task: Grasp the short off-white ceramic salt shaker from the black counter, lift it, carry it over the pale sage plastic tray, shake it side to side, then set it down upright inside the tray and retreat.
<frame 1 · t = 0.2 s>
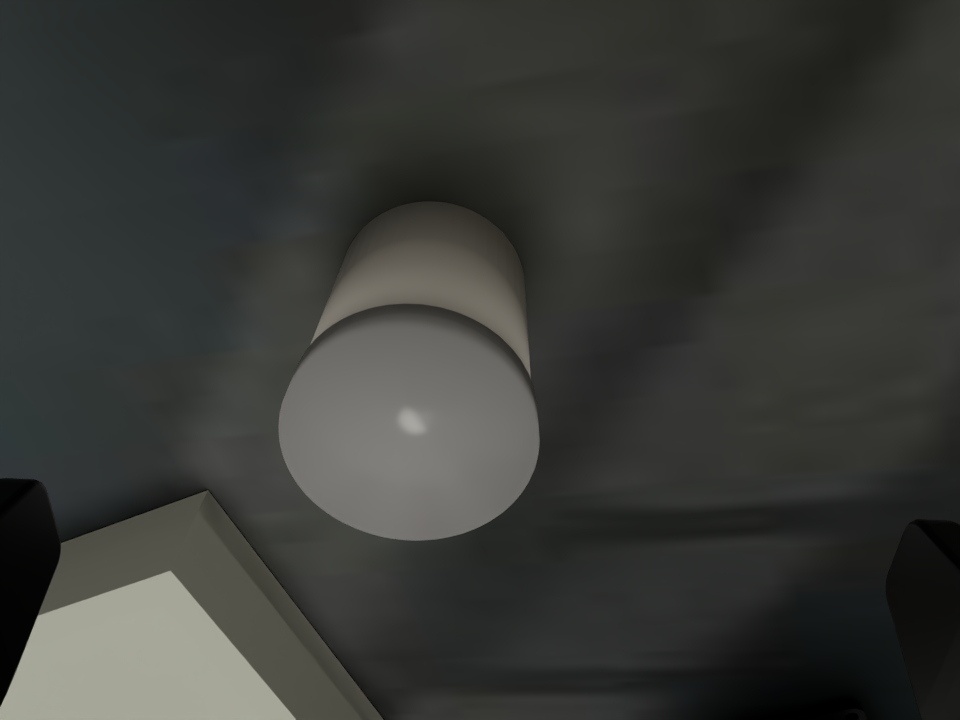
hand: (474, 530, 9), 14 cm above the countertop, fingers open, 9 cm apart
sage tray: (149, 695, 32), on the countertop
shaker: (432, 289, 23), on the countertop
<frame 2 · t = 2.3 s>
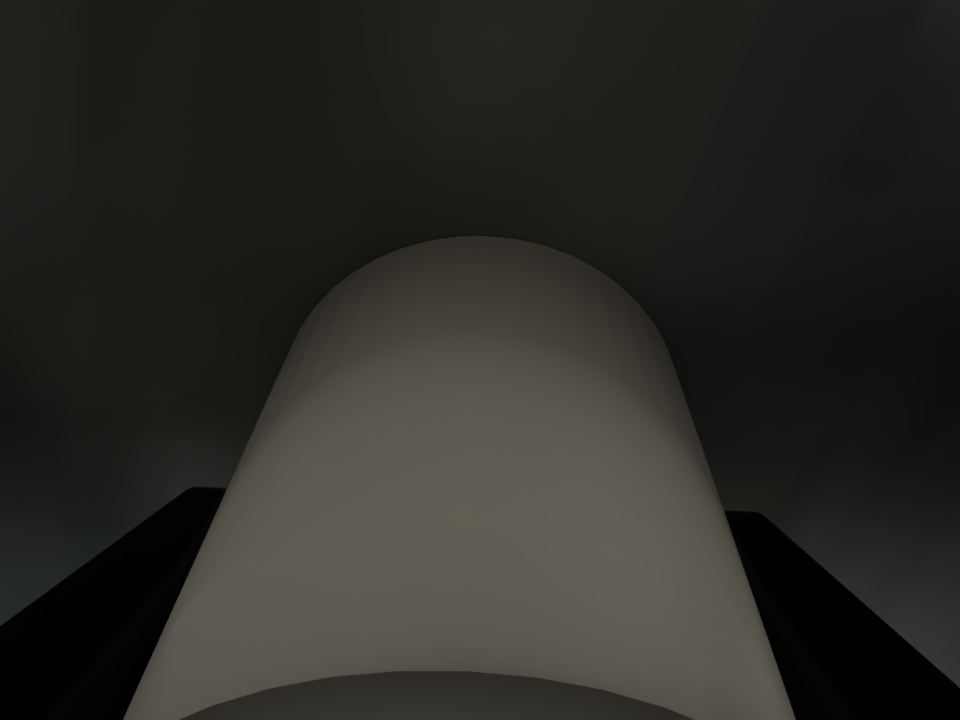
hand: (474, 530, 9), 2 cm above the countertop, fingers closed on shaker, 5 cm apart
shaker: (479, 421, 11), on the countertop, touching gripper
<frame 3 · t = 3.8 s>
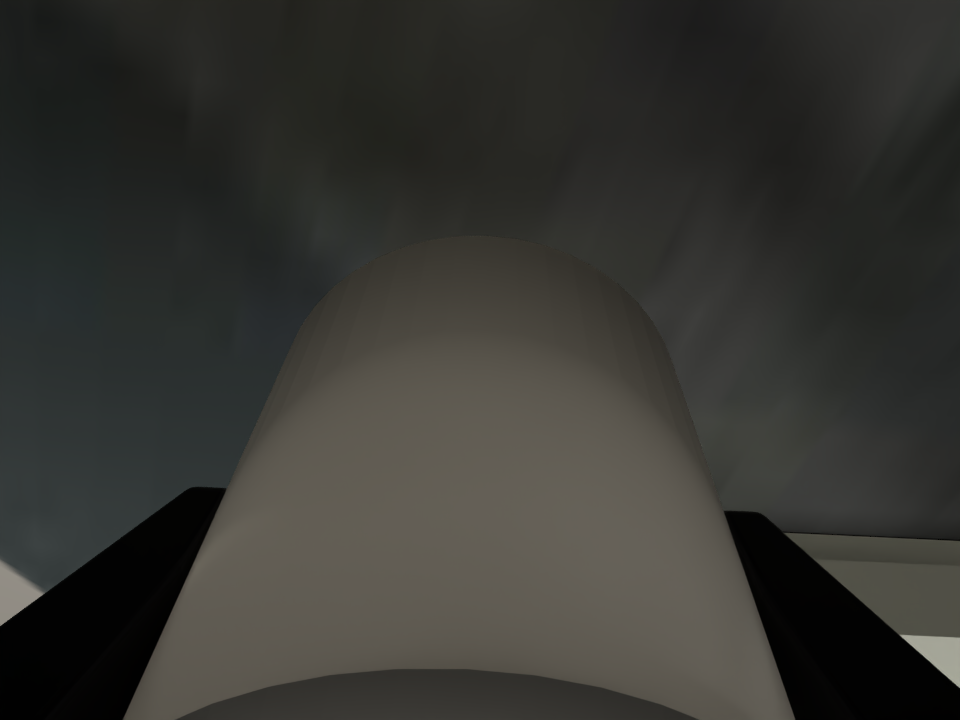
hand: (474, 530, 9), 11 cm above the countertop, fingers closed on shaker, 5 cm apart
sage tray: (812, 714, 27), on the countertop
shaker: (478, 421, 11), point 9 cm above the countertop, touching gripper
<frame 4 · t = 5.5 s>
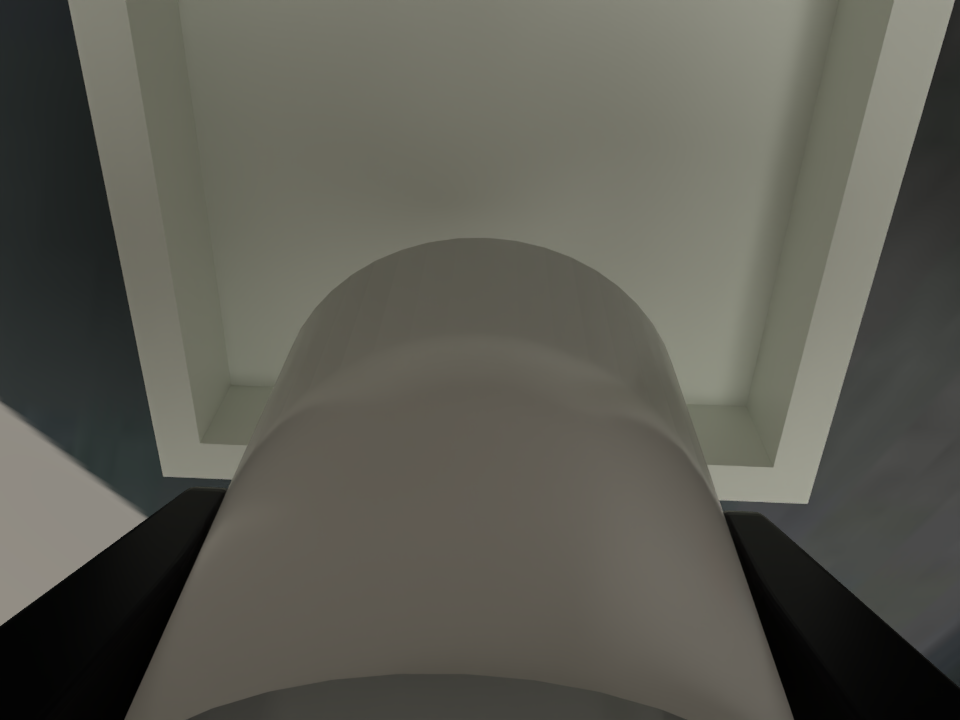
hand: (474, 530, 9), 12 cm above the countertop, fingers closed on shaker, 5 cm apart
sage tray: (499, 126, 19), on the countertop
shaker: (478, 423, 11), point 10 cm above the countertop, touching gripper
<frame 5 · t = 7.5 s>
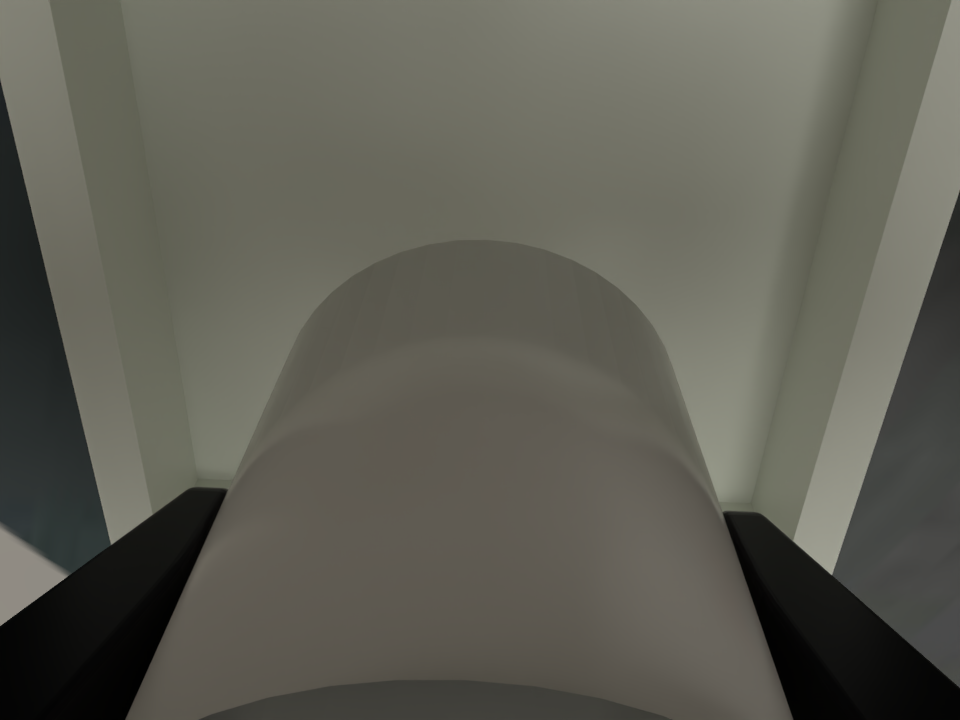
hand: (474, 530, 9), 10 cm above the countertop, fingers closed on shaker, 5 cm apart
sage tray: (486, 212, 17), on the countertop
shaker: (478, 425, 11), point 8 cm above the countertop, touching gripper
when the fingers open (4 cm above the countertop, at t = 9.0 s): shaker drops 1 cm, resting on sage tray.
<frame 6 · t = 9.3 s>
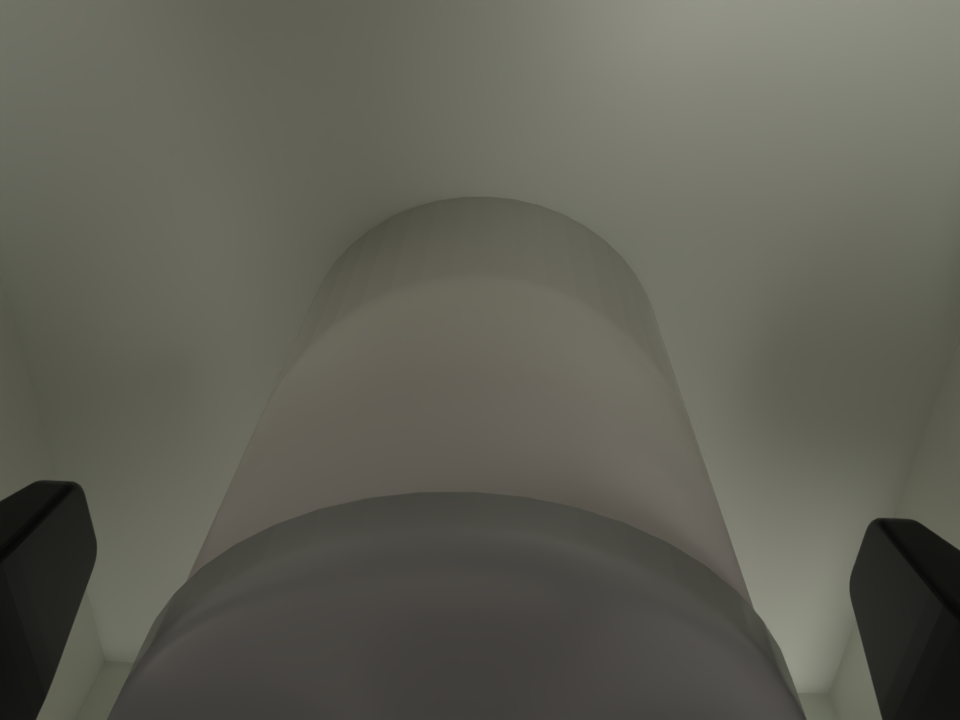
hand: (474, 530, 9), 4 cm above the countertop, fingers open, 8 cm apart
sage tray: (482, 332, 13), on the countertop
shaker: (481, 367, 12), point 1 cm above the countertop, touching sage tray
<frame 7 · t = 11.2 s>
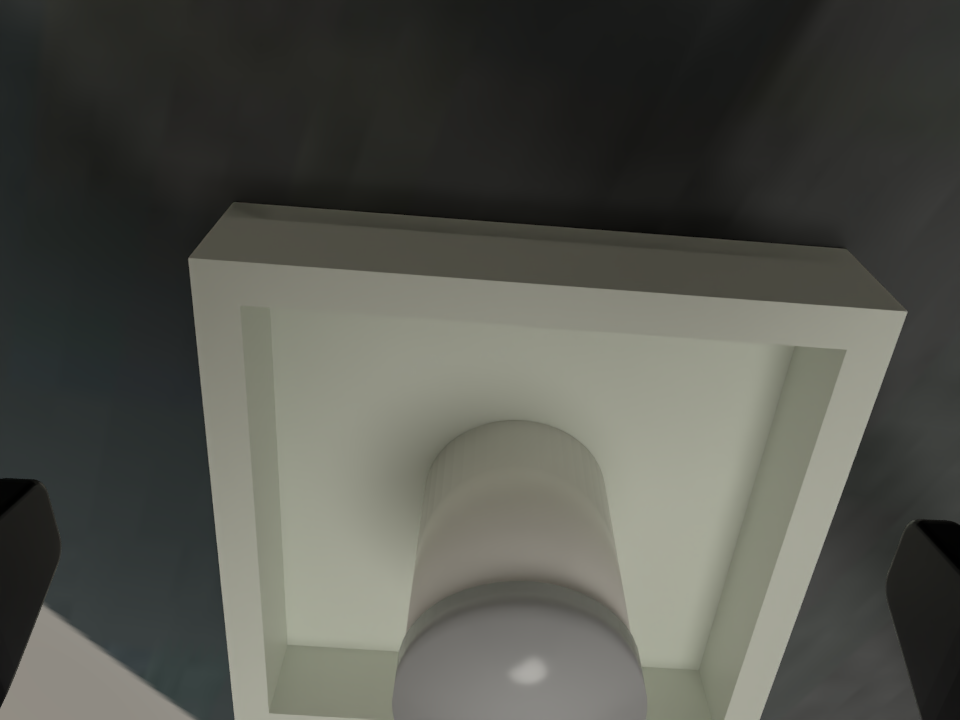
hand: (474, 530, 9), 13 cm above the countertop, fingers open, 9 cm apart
sage tray: (513, 472, 24), on the countertop
shaker: (514, 495, 23), point 1 cm above the countertop, touching sage tray
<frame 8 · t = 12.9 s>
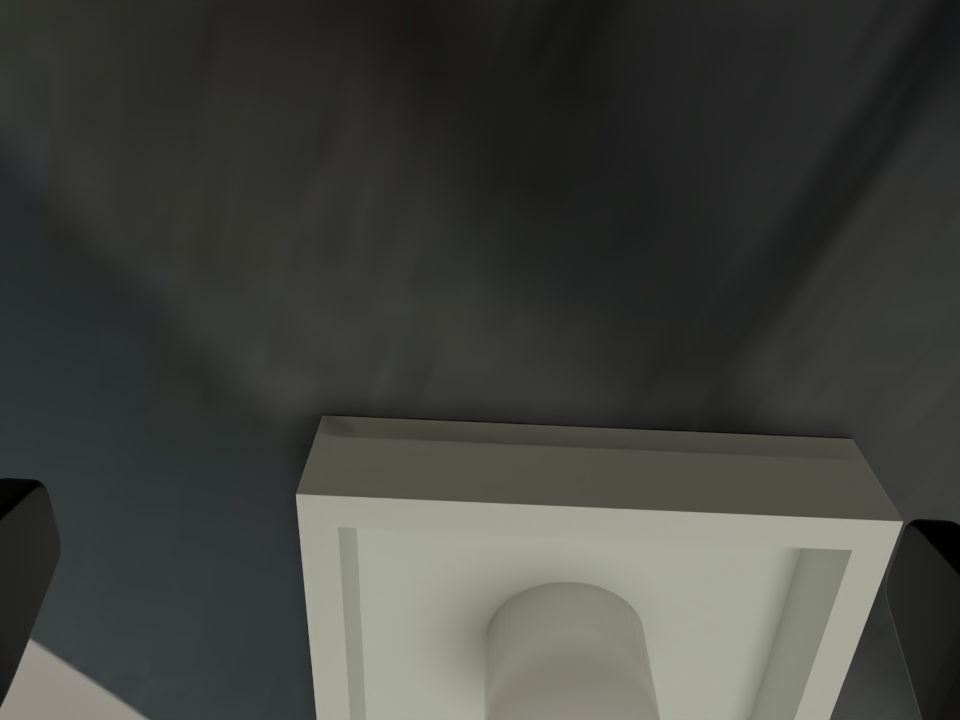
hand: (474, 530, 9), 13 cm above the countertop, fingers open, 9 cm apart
sage tray: (564, 616, 28), on the countertop
shaker: (564, 639, 27), point 1 cm above the countertop, touching sage tray
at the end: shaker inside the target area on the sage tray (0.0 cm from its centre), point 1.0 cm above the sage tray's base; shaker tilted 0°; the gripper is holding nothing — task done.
